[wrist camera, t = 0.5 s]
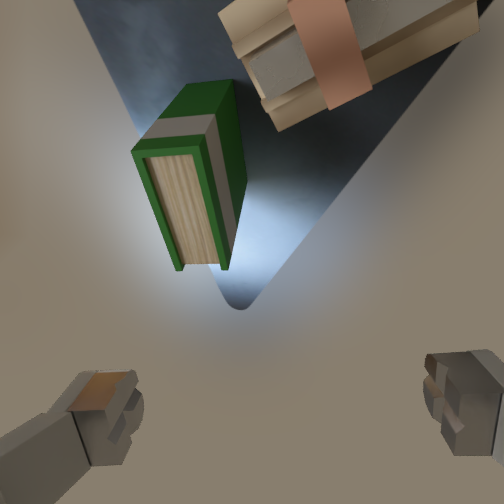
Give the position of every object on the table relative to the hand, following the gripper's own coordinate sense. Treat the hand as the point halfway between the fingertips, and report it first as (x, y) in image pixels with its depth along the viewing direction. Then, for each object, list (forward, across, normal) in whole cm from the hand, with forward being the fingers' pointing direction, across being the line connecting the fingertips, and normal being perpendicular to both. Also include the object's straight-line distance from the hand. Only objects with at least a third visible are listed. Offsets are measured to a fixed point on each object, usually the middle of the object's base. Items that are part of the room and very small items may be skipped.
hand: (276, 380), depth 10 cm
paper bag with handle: (+45, -9, -23) cm, 52 cm away
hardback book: (+54, +9, -7) cm, 55 cm away
